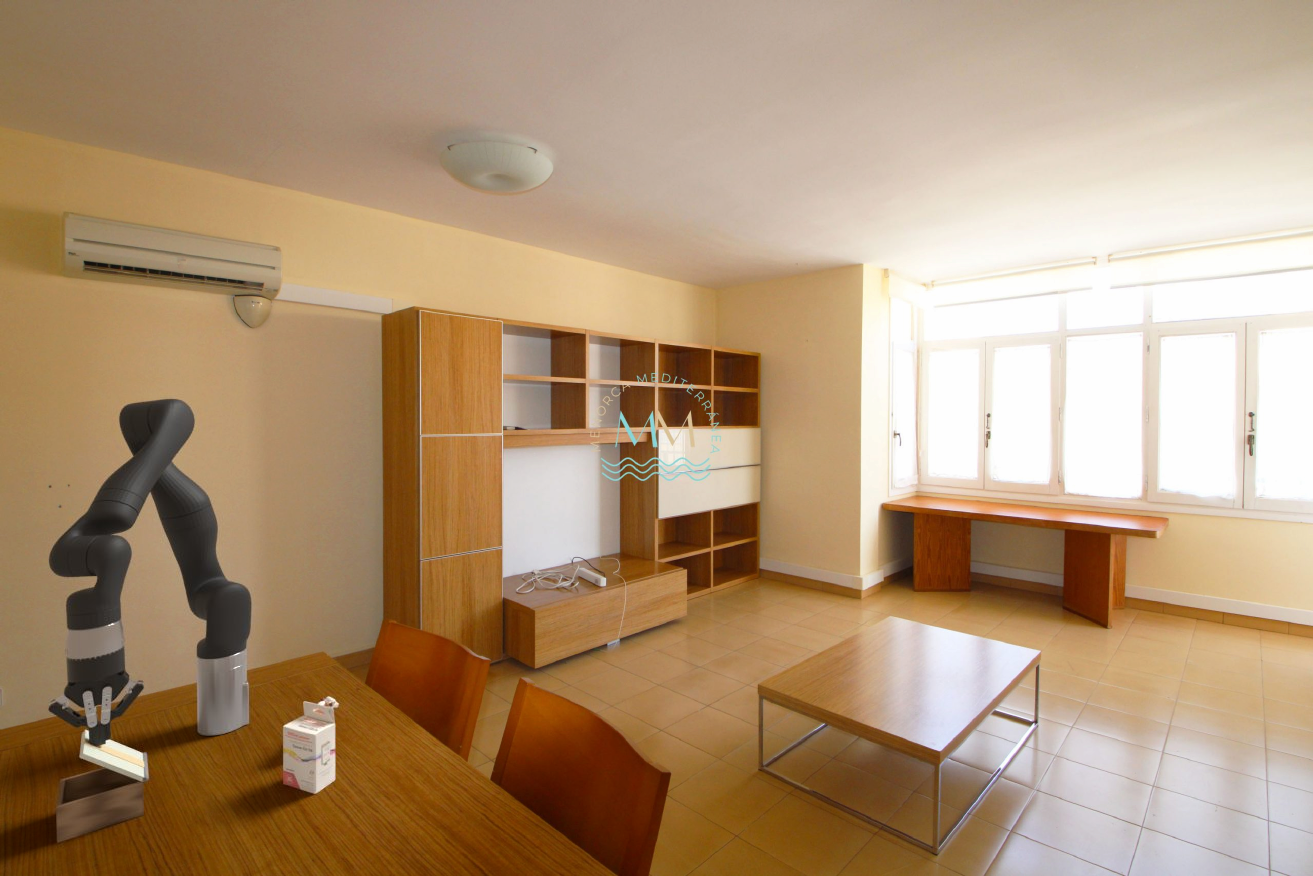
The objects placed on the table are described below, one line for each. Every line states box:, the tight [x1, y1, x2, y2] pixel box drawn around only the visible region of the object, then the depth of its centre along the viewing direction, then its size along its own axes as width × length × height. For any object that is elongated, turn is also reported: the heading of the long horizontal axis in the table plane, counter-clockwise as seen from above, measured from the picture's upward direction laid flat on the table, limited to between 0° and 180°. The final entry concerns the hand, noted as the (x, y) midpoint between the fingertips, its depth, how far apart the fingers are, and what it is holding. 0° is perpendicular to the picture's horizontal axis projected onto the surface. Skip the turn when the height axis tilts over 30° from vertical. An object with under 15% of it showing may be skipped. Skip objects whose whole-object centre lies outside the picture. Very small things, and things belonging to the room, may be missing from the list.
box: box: [55, 767, 145, 844], centre depth 108 cm, size 11×10×6 cm
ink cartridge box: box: [282, 701, 336, 795], centre depth 118 cm, size 9×5×15 cm, turn 71°
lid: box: [78, 729, 150, 783], centre depth 109 cm, size 12×10×1 cm
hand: (100, 743), depth 108 cm, fingers closed
